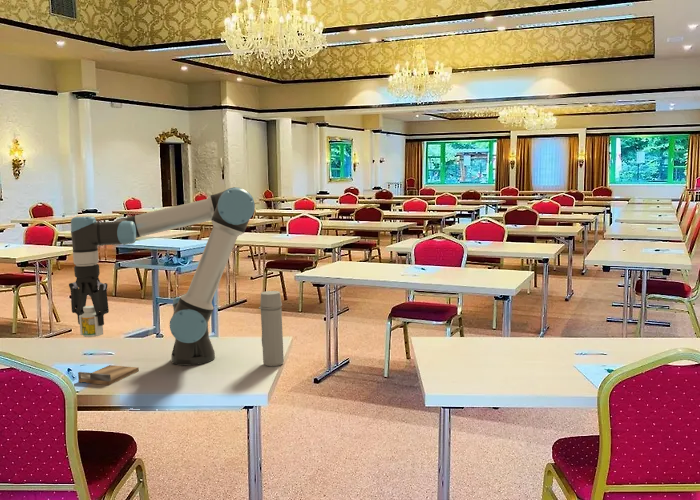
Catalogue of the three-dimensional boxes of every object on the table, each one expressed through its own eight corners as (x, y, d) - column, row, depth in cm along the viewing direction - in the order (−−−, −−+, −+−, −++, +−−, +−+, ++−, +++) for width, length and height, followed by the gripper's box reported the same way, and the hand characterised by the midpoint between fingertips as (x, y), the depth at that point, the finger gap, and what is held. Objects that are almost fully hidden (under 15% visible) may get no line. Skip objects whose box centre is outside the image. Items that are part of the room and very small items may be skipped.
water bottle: (289, 363, 226) (286, 292, 223) (271, 368, 220) (268, 295, 217) (272, 358, 232) (268, 289, 229) (254, 363, 227) (251, 292, 224)
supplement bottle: (102, 335, 213) (100, 306, 212) (84, 338, 210) (82, 309, 209) (98, 332, 217) (96, 304, 216) (81, 335, 214) (79, 306, 213)
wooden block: (138, 371, 222) (138, 361, 222) (108, 385, 208) (108, 375, 208) (109, 368, 226) (108, 359, 226) (78, 382, 212) (77, 372, 212)
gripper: (117, 263, 211) (122, 333, 214) (72, 262, 217) (77, 330, 220) (101, 266, 204) (107, 339, 207) (55, 265, 210) (60, 335, 213)
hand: (91, 334), depth 214 cm, fingers closed on supplement bottle, 5 cm apart
